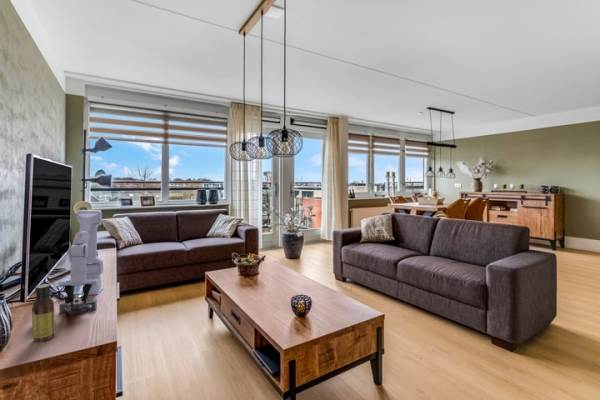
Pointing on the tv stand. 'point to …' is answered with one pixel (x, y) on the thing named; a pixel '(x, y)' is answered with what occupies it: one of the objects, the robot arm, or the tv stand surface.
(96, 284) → the robot arm
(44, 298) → the sauce bottle
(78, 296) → the air tube
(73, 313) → the collar stand
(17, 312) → the tv stand surface
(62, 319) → the tv stand surface
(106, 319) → the tv stand surface
